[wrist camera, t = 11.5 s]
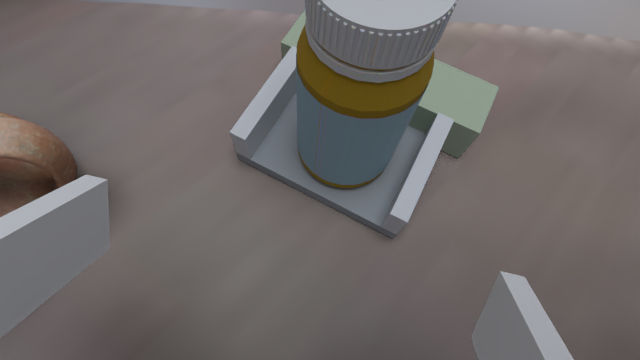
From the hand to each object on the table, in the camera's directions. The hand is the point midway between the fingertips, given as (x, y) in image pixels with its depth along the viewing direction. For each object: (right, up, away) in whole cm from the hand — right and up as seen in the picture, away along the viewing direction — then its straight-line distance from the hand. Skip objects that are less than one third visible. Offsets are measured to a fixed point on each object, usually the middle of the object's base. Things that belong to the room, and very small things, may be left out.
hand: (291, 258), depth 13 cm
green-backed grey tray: (+3, +5, +18) cm, 19 cm away
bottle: (+3, +5, +16) cm, 17 cm away
